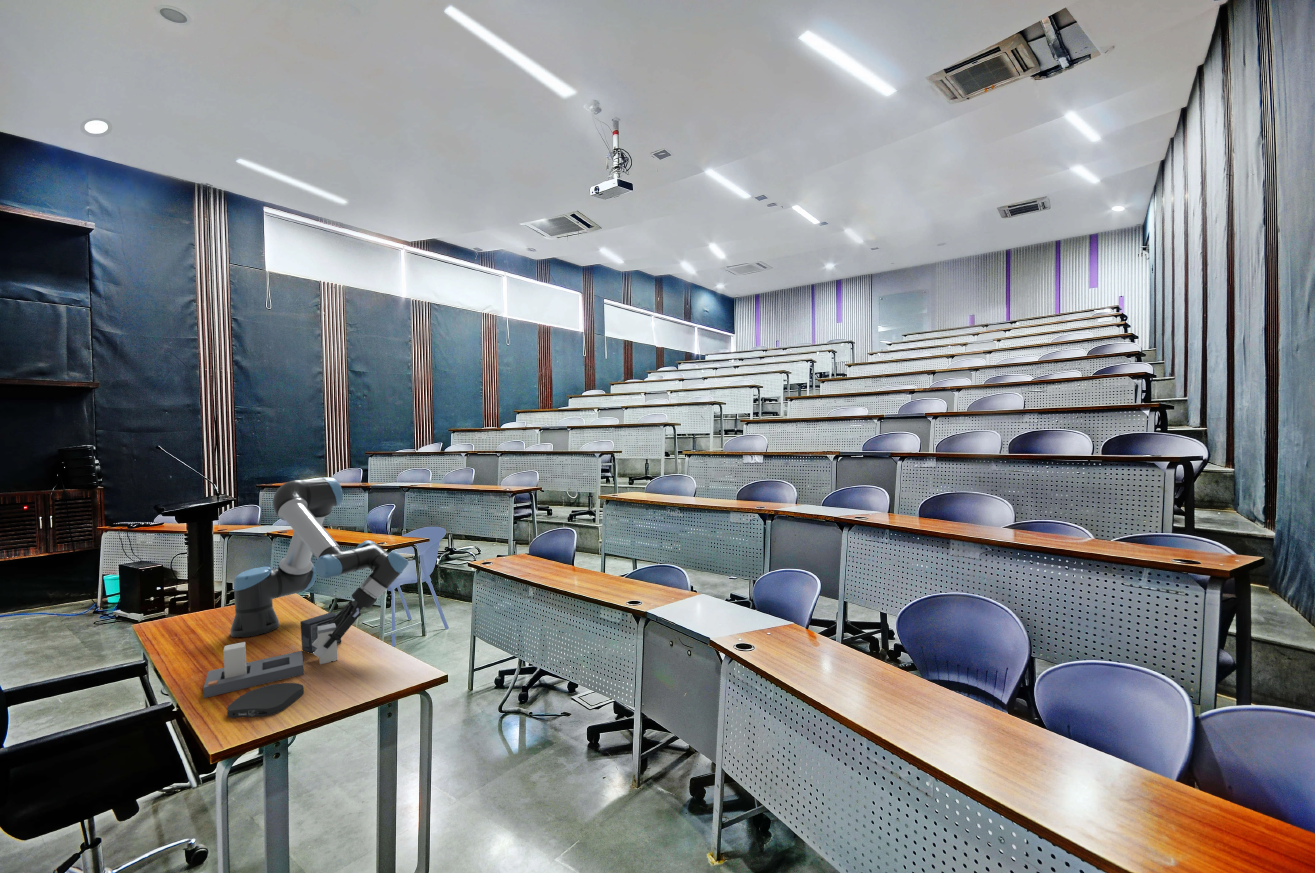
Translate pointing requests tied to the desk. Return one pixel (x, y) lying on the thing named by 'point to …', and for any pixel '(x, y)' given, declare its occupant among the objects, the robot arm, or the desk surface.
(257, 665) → the gray slotted dock
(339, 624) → the robot arm
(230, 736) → the desk surface
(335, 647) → the white plug
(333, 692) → the desk surface
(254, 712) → the media streaming box
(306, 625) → the small box
